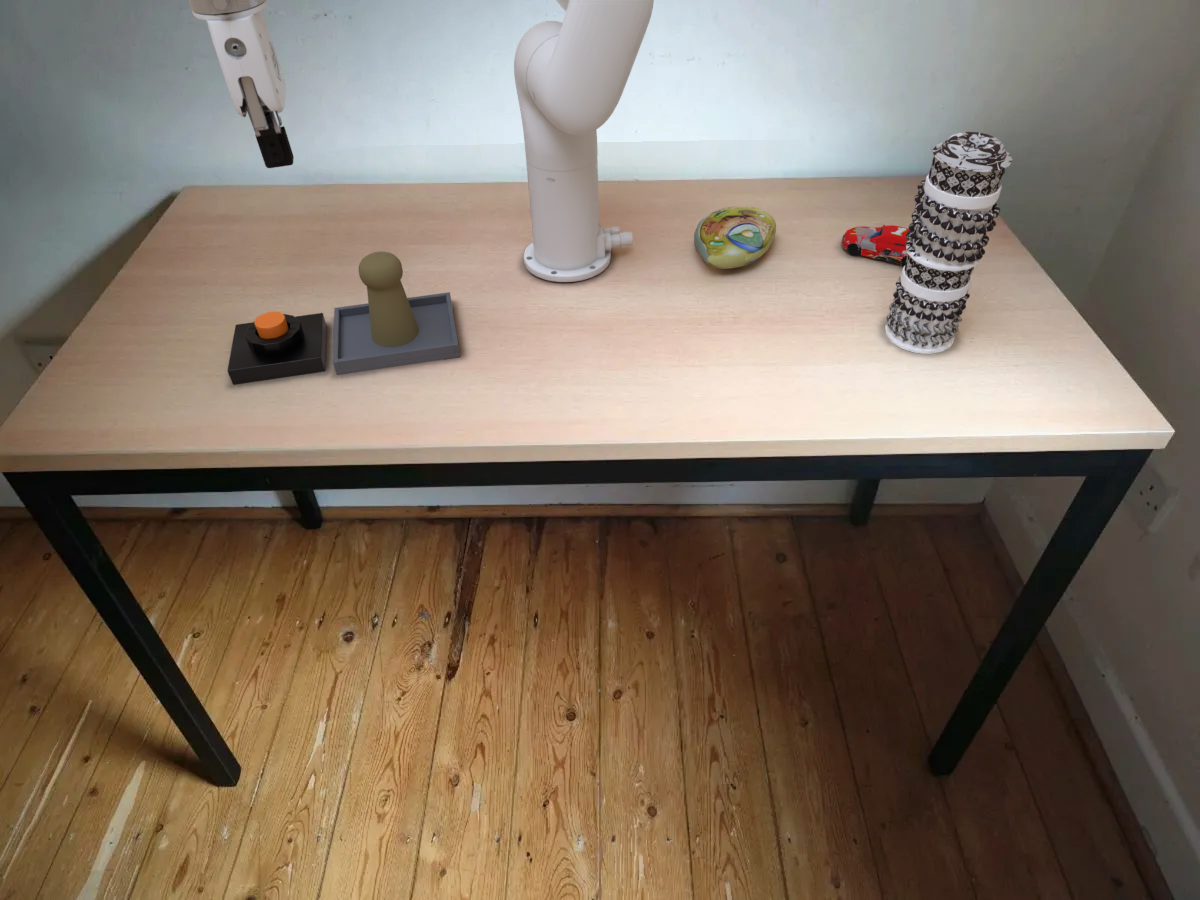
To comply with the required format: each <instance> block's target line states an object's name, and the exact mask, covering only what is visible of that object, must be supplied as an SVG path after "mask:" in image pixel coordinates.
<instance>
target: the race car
mask: <svg viewBox="0 0 1200 900" xmlns="http://www.w3.org/2000/svg"><path fill="white" fill-rule="evenodd" d="M910 232H911V231H910V230H909V227H904V226H900V225H893V224H888V225H885V224H883V225H882V226H879V227H876V226H855V227H851V228H848V229H847V230H846V231H845V232H844V234H843V235H842V237H841V246H842V248H843V249H844V250H845V251H847V253H848V254H849V255H850V256H853V257H857V256H859V255H860V256H863V257H867V258H872V259H875V260H881V261H884V262H889V263H894V264H897V265H902V267H904V266H905V264H906V260H907V256H908V254H907V249H906V241H907V240H909V233H910Z"/></svg>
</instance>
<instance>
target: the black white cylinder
mask: <svg viewBox="0 0 1200 900" xmlns="http://www.w3.org/2000/svg"><path fill="white" fill-rule="evenodd" d="M932 154H933V158H932V161H931V166H930V168H929V172H928V174H927V175H926V177H925V179H924V180H923V179H922V180H921V181H920V184H921V185H920V184H918V185H917V188H916V189H917V190H918V191H917V194H916V195H915V196H914V199H913V200H914V202H915V205H914V210H913V212H912V213H911V219H912V220H911V223H910V224H909V225H908V229H909V230H910V231H911V232H910V233H909V240H907V241H906V249H907V254H908V256H907V260H906V264H905V266H902V270H901V274H900V276H899V277H898V280H896V282H895V286H896V290H895V291H894V292H893V293H892V297H893V300H892V302H891V303H890V304H889V306H888V307H889V308H888V309H889V313H887V315H886V320H887V323H886V324H885V326H884V330H885V336H886V337H887V339H889V341H890V342H891V343H892V344H893V345H895V346H896V347H898V348H900V349H902V350H905V351H908V352H911V353H914V354H922V355H923V354H924V355H933V354H939V353H943V352H945V351H947V350H948V349H950V348H951V347H952V345H953V344H954V342H955V340H956V339H955V337H956V334H955V333H958V332H959V330H960V329H959V326H960V323H961V322H962V321H963V317H961V316H962V315H963V313H964V310H965V309H967V305H966V304H967V300H968V299H969V298H970V296H971V295H970V293H969V289H970V286H971V283H972V277H971V276H972V274H973V272H974V268H975V267H976V266H978V265H979V263H980V262H981V260H982V258H983V256H984V255H985V254H986V250H985V249H984V247H986V246H987V245H988V243H989V241H990V237H989V235H987V233H988V232H992V231H993V230H994V229H995V227H996V226H997V222H996V221H995V220H994V219H996V218H998V217H999V215H1000V212H1001V207H999V206H998V203H996V202H998V200H999V197H1000V195H1001V191H1002V188H1003V185H1002V181H1003V178H1004V176H1005V175H1006V168H1008V167H1010V165H1011V164H1012V162H1013V158H1012V155H1011V153H1010V152H1008V151H1007V150H1006V147H1005V146H1004V143H1003V141H1002V140H1000V139H999V138H997V137H996V136H993V135H991V134H988V133H983V132H979V131H963V132H957V133H954V134H952V135H949V136H948V137H947V138H946V139H945V140H944V141H942V142H940V143H936V145H935V146H934V147H933V148H932Z"/></svg>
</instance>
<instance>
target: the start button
mask: <svg viewBox="0 0 1200 900" xmlns="http://www.w3.org/2000/svg"><path fill="white" fill-rule="evenodd" d="M283 314H284V313H282V312H280V311H268V312H267V311H266V312H264V313H262V314H259V316H257V317H256V318H255V319H254V321H255V326H256V329H257V332H258V334H259V336H260V337H261V338H265V339H270V338H277V337H279V336H281V335H283V334H285V333H286V332H287V331H288V329H289V328H288V325H287V322H286V319H285V316H284V315H283Z"/></svg>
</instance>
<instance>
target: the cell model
mask: <svg viewBox="0 0 1200 900" xmlns="http://www.w3.org/2000/svg"><path fill="white" fill-rule="evenodd" d="M695 228H696V229H695V231H694V234H693V244H694V247H695V250H696V252H697V253H698V254H699V255H700V257H701V259H702V260H703V261H704V263H706V264H707V265H709V266H710V267H713V268H717V269H735V268H742V267H745V266H749V265H750V264H753V263H755V262H756V261H757V260H758V259H760V258H761V257H763V255H764V254H766V252H767V251H768V250H769V248H770V247H771V246H772V244H773V241H774V238H775V235H776V234H777V223H776V220H775V218H774V217H773V215H772V214H771V213H769V212H768V211H766V210H764V209H761V208H759V207H755V206H730V207H724V208H720V209H717V210H714V211H712V212H710V213H708V214H707V215H705V216H703V218H701V219H700V221H699V222H698V224H697V226H696V227H695Z"/></svg>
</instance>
